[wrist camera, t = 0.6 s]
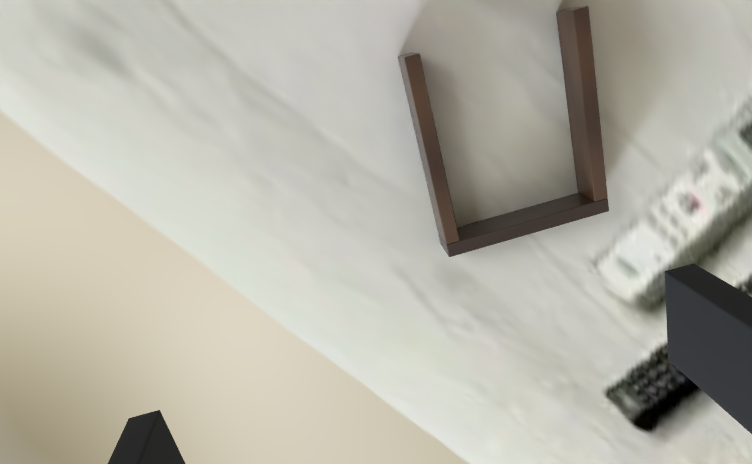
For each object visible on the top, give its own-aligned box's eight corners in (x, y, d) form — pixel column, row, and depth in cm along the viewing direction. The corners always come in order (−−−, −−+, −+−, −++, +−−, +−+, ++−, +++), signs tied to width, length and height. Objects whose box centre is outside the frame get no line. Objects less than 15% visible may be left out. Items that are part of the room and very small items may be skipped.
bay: (397, 56, 35) (404, 57, 33) (570, 8, 35) (588, 5, 33) (440, 244, 40) (449, 257, 38) (591, 201, 40) (609, 211, 38)
